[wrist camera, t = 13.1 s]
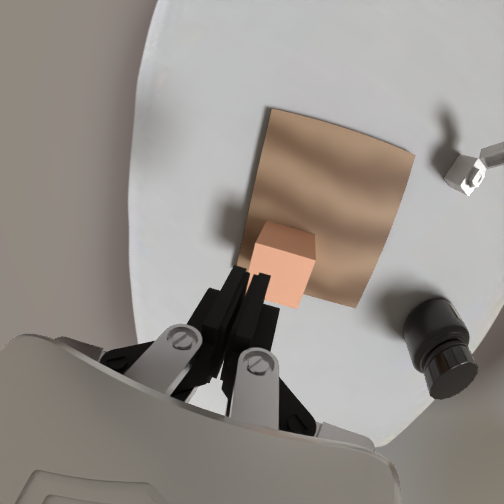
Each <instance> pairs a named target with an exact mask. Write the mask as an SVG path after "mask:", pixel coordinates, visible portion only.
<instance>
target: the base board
mask: <svg viewBox="0 0 504 504" xmlns="http://www.w3.org/2000/svg"><path fill="white" fill-rule="evenodd" d="M414 158H415V155H414V154H412V153H409V152H407V151H405V150H402V149H400V148H398V147H395V146H393V145H390V144H388V143H385V142H383V141H380V140H378V139H375V138H372V137H370V136H367V135H364V134H361V133H358V132H355V131H352V130H349V129H346V128H343V127H340V126H337V125H334V124H330V123H327V122H324V121H320V120H317V119H313V118H309V117H305V116H302V115H298V114H294V113H289V112H285V111H281V110H276V109H272V110H271V115H270V119H269V123H268V127H267V132H266V136H265V140H264V145H263V149H262V153H261V158H260V162H259V167H258V171H257V175H256V180H255V184H254V189H253V193H252V198H251V202H250V207H249V211H248V216H247V220H246V225H245V229H244V234H243V239H242V243H241V248H240V252H239V257H238V262H237V266H240V267H243V268H246V269H247V270H246V272H248V271H249V267H250V263H251V259H252V255H253V251H254V247H255V243H256V241H257V239H258V237H259V235H260V233H261V231H262V229H263V227H264V225H265V223H266V221H270V222H274V223H277V224H281V225H284V226H288V227H291V228H294V229H298V230H301V231H304V232H308V233H311V234H314V235H315V248H316V261H315V264H314V267H313V269H312V272H311V275H310V277H309V280H308V283H307V285H306V288H305V290H304V293H303V294H305V295H309V296H312V297H316V298H320V299H323V300H327V301H331V302H334V303H338V304H342V305H345V306H349V307H353V308H356V306H357V304H358V302H359V300H360V298H361V296H362V294H363V292H364V290H365V288H366V286H367V284H368V281H369V279H370V277H371V275H372V273H373V270H374V268H375V266H376V264H377V261H378V259H379V257H380V254H381V252H382V250H383V247H384V245H385V242H386V240H387V237H388V235H389V232H390V230H391V227H392V225H393V222H394V219H395V217H396V214H397V211H398V208H399V205H400V203H401V200H402V197H403V194H404V191H405V188H406V185H407V182H408V178H409V175H410V172H411V168H412V165H413V162H414Z"/></svg>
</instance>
